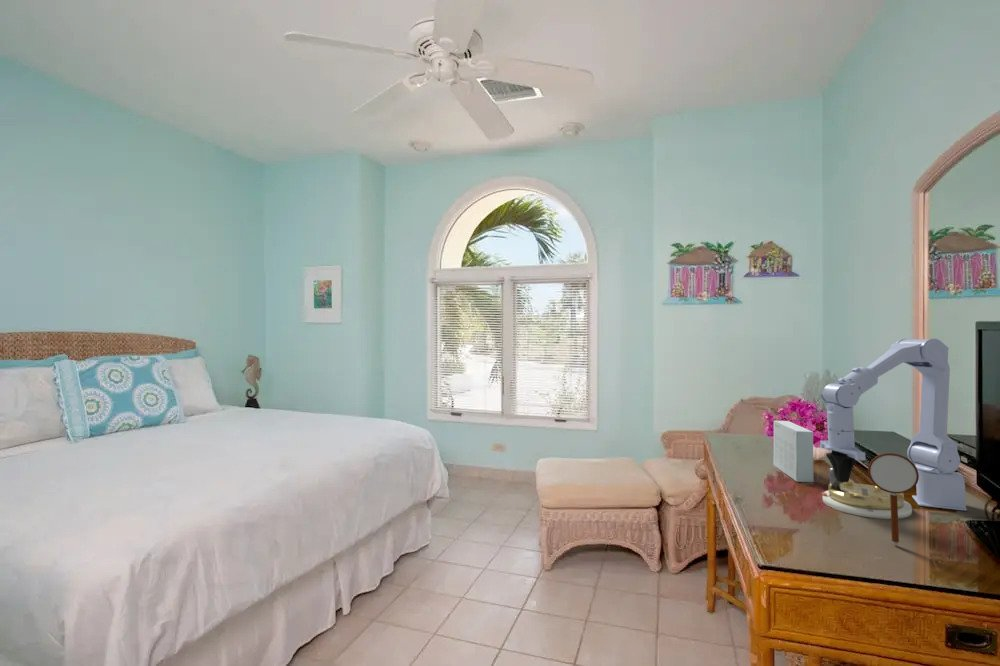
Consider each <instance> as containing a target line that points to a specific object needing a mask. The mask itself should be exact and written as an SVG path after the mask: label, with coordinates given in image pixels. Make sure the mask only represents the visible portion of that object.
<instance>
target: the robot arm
mask: <svg viewBox="0 0 1000 666" xmlns="http://www.w3.org/2000/svg"><path fill="white" fill-rule="evenodd" d="M949 349H950V348H949V347H948V346H947V345H946V344H945V343H944V342H942V341H941V340H940V339H938V338H929V339H927V338H926V339H925V338H923V339H919V338H900V339H899V340H897V341H896V342H894V343H892V344H891V345H890V348H889V349H888V350H887V351H885V352H884V353H883V354H882V355H880V357H878V358H876V360H874V361H873V362H872V363H871V364H869V365H868V366H867V367H865V366H859V367H856V366H855V367H853V368H852V369H851V372H850V373H848V374H846V375H845V376H844V377H840V378H839V379H837V382H836V383H829V384H826V385H825V386H824V388H823V390H822V391H821V392H822V393H820V398H821V401H822V402H823V403H824V408H825V409H826V417H827V418H826V421H827V440H820V441H819V444H820V448H821V449H824V450H827V451H831V452H827V453H826V454H825V455H826V458H827V459H828V461H829V462H830V464H831V466H832V467H833V469H834V472H835V475H836V478H837V481H839V482H840V483H843V482H848V481H850V477H851V474H852V472H853V471H852V470H853V468H854V466H855V464H856V463H857V461H866V452H865V451H862V450H860V449H859V448H857V446H856V445H855V443H856V441H855V425H854V423H855V420H854V406H856V405H857V404H858V401H859V400H860V399H859V398H861V396H862V395H863V394H864V393H866V392H867V391H869V390H871V388H873V387H875V386H877V384H878V381H879V377H881V376H883V375H884V374H886V373H888V372H889V371H891V370H893V369H894V368H896V367H898V366H899V365H902V364H903V363H905V364H906V365H908V366H911V367H913V368H915V370H917V372H919V373H920V374H921V393H920V394H921V395H920V412H919V413H920V414H919V415H920V416H919V431H918V432H917V433H916V434H914V435H912V436H911V437H910V444H909V446H908V448H907V450H906V454H907V458H908V459H909V460H910V461H911V462H912V463H913V464H914V465H915V466H916V468H917V470H918V474H919V479H918V483H917V484H916V486H915V488H916V495H911V498H913V500H914V502H916V504H917V505H918V506H921V507H929V508H938V509H939V508H941V509H947V510H955V511H956V510H957V511H964V512H965V511H967V510H968V509H967V506H966V505H967V504H966V502H967V500H966V483H965V478H964V475H963V474H962V472H956V471H957V470H958V469H959V467H960V464H961V457H960V455H959V452H958V444H957V443H956V442H955V441H954V440H953V439H952V438H950V437H949V435H948V418H949V417H948V415H949V414H948V413H949V399H950V398H949V394H950V393H949V392H950V375H951V374H950V373H951V372H950V371H951V369H950V365H949V364H950V363H949Z"/></svg>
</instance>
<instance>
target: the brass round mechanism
mask: <svg viewBox="0 0 1000 666" xmlns="http://www.w3.org/2000/svg"><path fill="white" fill-rule="evenodd" d="M828 471H829V475H828V476H829V483H828V490H829V497H830V498H832V499H833V500H835V501H837V502H840V503H843V504H846V505H850V506H854V507H859V508H865V509H873V510H891V505H890V495H891V493H889V492H886V491H883V490H881V489H880V488H878V487H877V486H876V485H875V484H873V485H872V484H865V483H855V482H853V481H851V480H849V481H848V482H839V481H837V478H836V475H835V472H834V469H833V466H832V467H829V468H828ZM896 495H897V505H898V509H901V508H903V507H904V501H905V495H904V493H899V494H896Z"/></svg>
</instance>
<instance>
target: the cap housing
mask: <svg viewBox="0 0 1000 666" xmlns="http://www.w3.org/2000/svg"><path fill="white" fill-rule="evenodd" d="M821 494H822V502H823V503H824V504H825V505H826V506H828V507H829V506H830V508H831V507H832V508H831V509H833V510H837V511H839V512H842V513H847V514H848V515H849V514H850V515H853V516H860V517H865V518H872V519H873V518H874V519H881V520H882V519H884V520H887V519H888V520H891V510H873V509H865V508H859V507H854V506H850V505H846V504H843V503H840V502H837V501H835V500H833V499H832V498H830V497H829V489H828V490H825V491H823V492H821ZM912 509H913V506H912V504H911V503H910V502H908V501H906V500H904V507H903V508H901V509H898V520H899V519H905V518H909V517H911V516H912V514H913V510H912Z"/></svg>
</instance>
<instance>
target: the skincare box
mask: <svg viewBox="0 0 1000 666" xmlns="http://www.w3.org/2000/svg"><path fill="white" fill-rule="evenodd" d="M772 441H773V460H772V461H773V462H772V463H773V464H772V465H773V466H774V467H775V468H777V469H778V470H780V471H781V472H782V473H784V474H785V475H787V476H788V477H789V478H791V479H792V480H793V481H795V482H797V483H798V482H800V483H814V431H812V430H809V428H806V427H803V426H800V425H798V424H796V423H793V422H792V421H789V420H773V440H772Z"/></svg>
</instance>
